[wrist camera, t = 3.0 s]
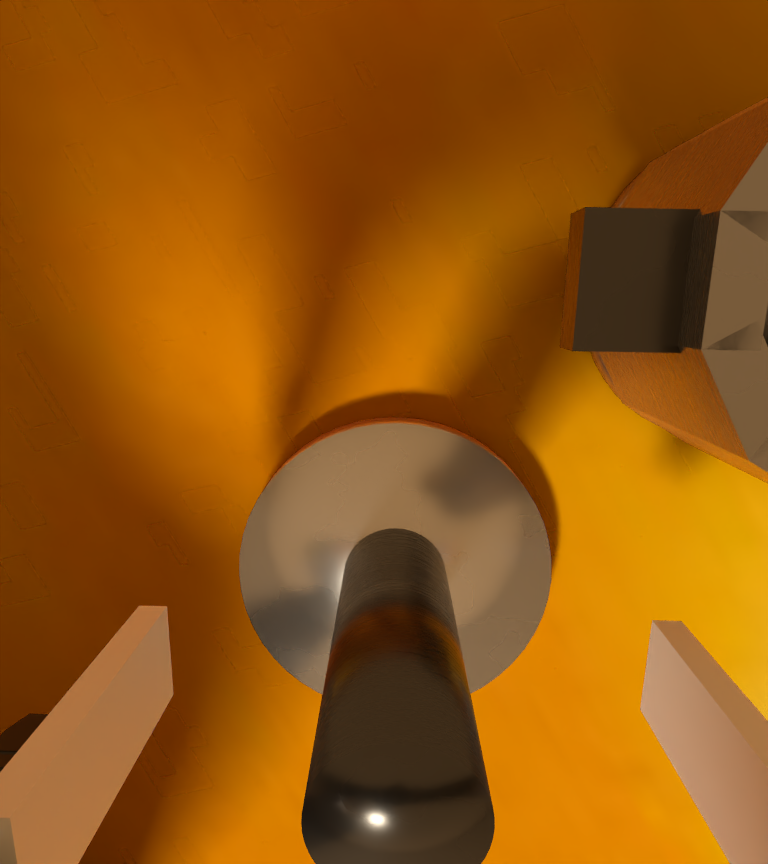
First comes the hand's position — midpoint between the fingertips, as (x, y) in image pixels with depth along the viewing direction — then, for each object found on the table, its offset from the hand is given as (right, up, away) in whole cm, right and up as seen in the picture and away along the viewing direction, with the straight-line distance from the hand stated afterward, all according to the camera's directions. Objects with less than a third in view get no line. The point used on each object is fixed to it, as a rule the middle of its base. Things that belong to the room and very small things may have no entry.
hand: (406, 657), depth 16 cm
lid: (0, +1, +6) cm, 6 cm away
